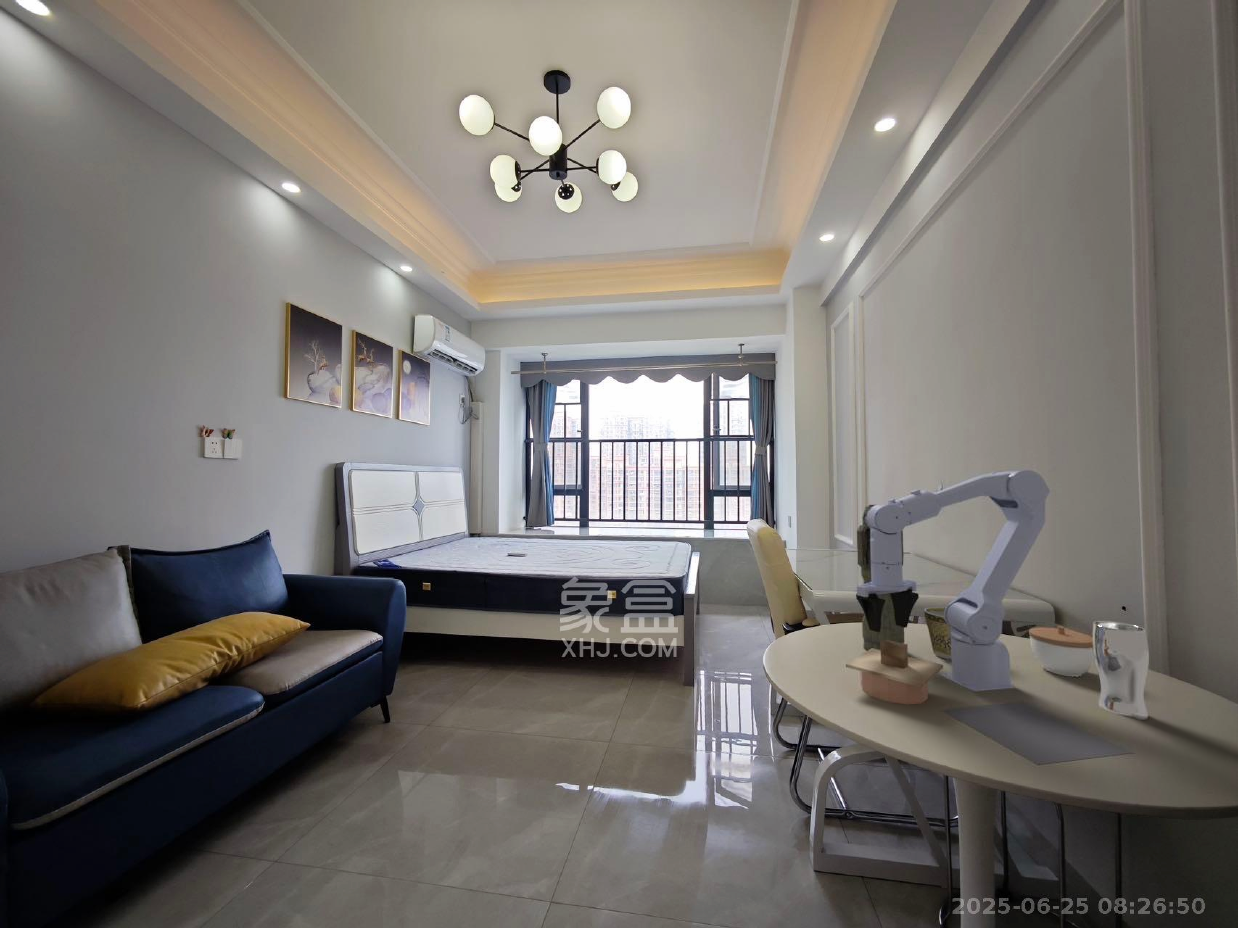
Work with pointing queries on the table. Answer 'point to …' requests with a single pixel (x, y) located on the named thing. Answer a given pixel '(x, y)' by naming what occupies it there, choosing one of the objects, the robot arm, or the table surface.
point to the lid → (895, 664)
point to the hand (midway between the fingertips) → (888, 628)
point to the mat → (1035, 733)
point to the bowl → (893, 689)
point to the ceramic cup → (939, 631)
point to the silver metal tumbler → (1121, 666)
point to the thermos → (887, 618)
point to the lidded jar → (1062, 650)
